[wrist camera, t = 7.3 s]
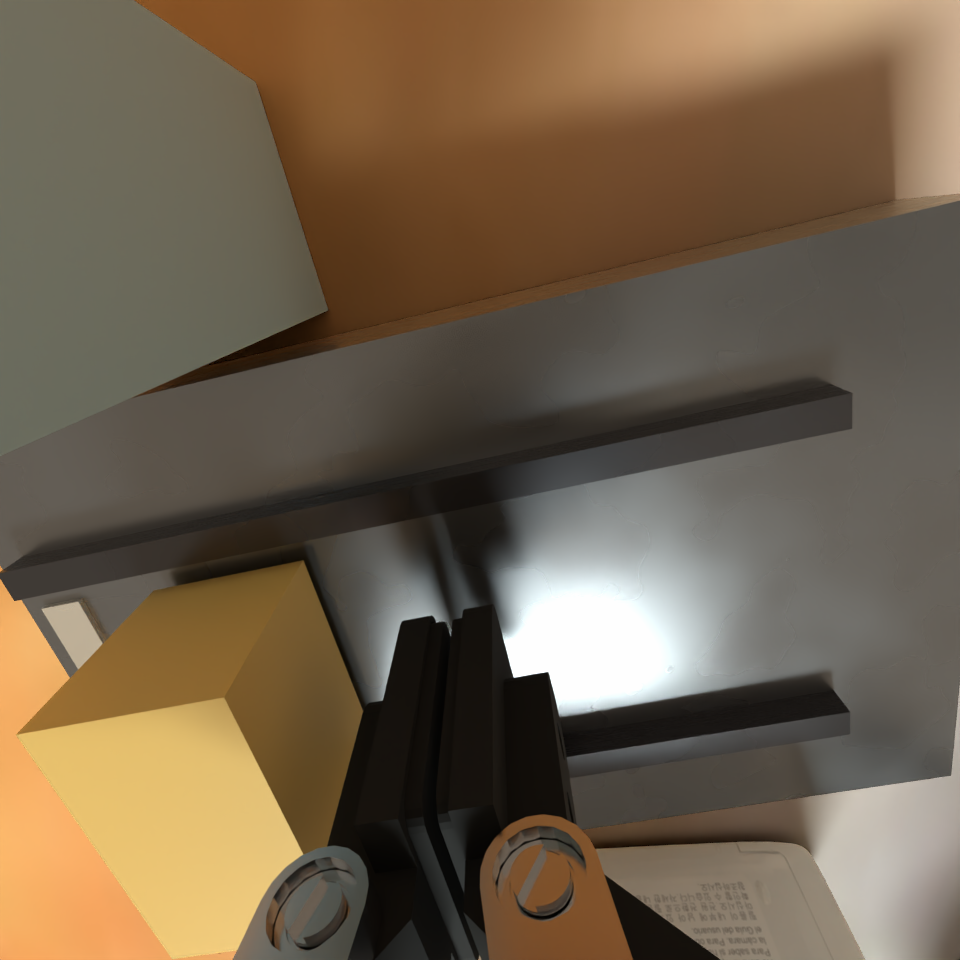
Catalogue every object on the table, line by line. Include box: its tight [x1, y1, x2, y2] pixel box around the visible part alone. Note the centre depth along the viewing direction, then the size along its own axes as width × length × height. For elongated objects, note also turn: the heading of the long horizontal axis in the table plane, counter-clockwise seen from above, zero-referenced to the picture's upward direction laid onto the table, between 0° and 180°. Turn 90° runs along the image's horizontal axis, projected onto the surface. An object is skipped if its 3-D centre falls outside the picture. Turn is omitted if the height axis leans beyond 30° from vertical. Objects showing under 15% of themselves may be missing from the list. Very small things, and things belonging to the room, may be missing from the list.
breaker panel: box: [0, 194, 960, 830], centre depth 13 cm, size 18×12×3 cm, turn 103°
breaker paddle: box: [16, 560, 363, 959], centre depth 10 cm, size 3×5×4 cm, turn 13°
